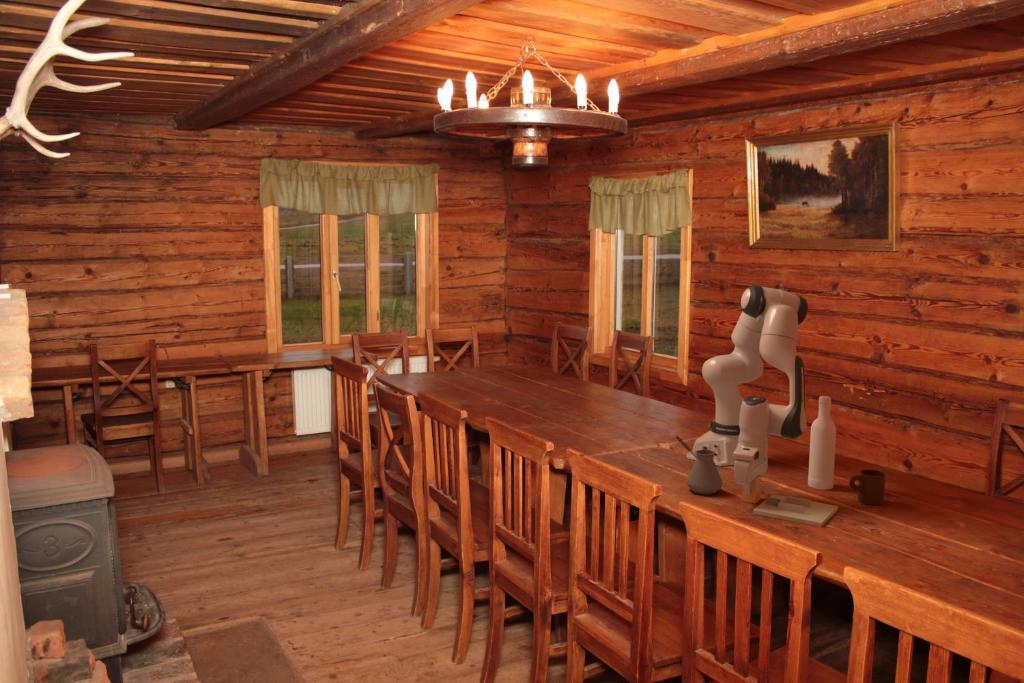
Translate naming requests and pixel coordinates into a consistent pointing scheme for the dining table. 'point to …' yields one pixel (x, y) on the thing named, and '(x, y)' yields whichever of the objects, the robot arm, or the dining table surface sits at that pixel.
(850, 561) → the dining table surface
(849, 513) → the dining table surface
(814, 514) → the mount deck
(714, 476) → the coffee pot
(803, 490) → the dining table surface
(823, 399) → the bottle
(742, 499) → the orange rectangular block
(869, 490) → the mug
